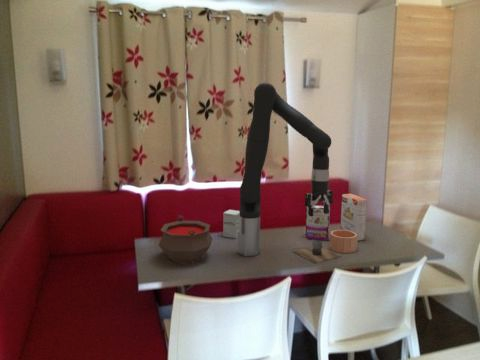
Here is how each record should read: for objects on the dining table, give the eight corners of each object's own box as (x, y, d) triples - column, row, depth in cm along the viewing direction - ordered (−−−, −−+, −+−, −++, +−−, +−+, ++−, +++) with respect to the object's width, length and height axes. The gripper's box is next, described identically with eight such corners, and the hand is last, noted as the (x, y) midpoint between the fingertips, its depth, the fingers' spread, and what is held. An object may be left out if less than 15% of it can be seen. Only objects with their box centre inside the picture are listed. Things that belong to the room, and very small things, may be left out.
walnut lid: (315, 264, 177) (315, 250, 176) (293, 253, 190) (293, 239, 189) (340, 258, 185) (341, 244, 184) (318, 247, 197) (318, 234, 196)
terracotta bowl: (342, 254, 187) (343, 239, 186) (324, 246, 197) (325, 232, 196) (361, 249, 193) (362, 235, 192) (343, 242, 203) (343, 228, 202)
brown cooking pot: (154, 251, 190) (153, 216, 187) (205, 245, 198) (204, 211, 195) (164, 271, 168) (163, 232, 165) (220, 263, 176) (220, 226, 173)
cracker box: (339, 232, 217) (341, 193, 213) (349, 231, 219) (351, 193, 215) (354, 241, 204) (357, 200, 200) (365, 240, 206) (367, 199, 202)
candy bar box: (328, 237, 210) (330, 206, 207) (327, 240, 205) (329, 208, 202) (306, 235, 213) (307, 204, 210) (305, 238, 208) (306, 206, 205)
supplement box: (222, 236, 210) (222, 212, 208) (229, 232, 217) (229, 209, 214) (235, 239, 207) (235, 214, 204) (242, 234, 213) (242, 210, 211)
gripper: (313, 181, 175) (311, 219, 178) (338, 178, 182) (336, 214, 185) (301, 178, 181) (300, 214, 184) (326, 175, 188) (324, 210, 191)
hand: (318, 214), depth 185 cm, fingers open, 8 cm apart
